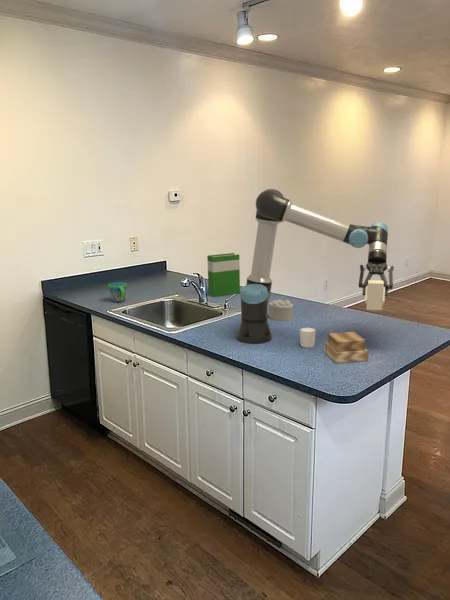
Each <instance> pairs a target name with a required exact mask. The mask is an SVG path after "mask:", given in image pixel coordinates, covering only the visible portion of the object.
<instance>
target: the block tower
mask: <svg viewBox="0 0 450 600" xmlns="http://www.w3.org/2000/svg"><path fill="white" fill-rule="evenodd" d="M323 350H324V353H325V354H326V355H327V356H328V357H329V358H330V359H331V360H332V361H333V362H334V363H335V364H340V363H351V362H352V363H355V362H365V361H366V362H367V361H369V350H368V349H367V348H366V340H365V338H363V337H362V336H361V335H359V334H358V333H357V332H355V331H344V332H329V333H328V334H327V341H325V342H324V349H323Z"/></svg>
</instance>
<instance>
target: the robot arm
mask: <svg viewBox="0 0 450 600" xmlns="http://www.w3.org/2000/svg"><path fill="white" fill-rule="evenodd" d="M255 199H256V200H255V209H256V211H255V212H256V213H255V220H256V221H257V230H256V236H255V244H254V250H253V251H254V252H253V258H252V264H251V271H250V274H249V275H248V276H247V278H246V284H245V285H244V286H242V288H240V295H239V296H240V308H241V309H240V317H241V318H240V319H241V321H240V324H239V328H238V330H237V340H238V341H240V342H242V343H248V344H262V343H267V342H269V341H271V340H272V330H271V328H270V325H269V321H268V319H269V303H270V302H269V301H270V299H271V295H272V291H271V290H272V284H273V279H272V278H271V277H270V275H271V269H272V264H273V263H272V262H273V256H274V249H275V243H276V236H277V230H278V225H279V224H280V223H284V222H288V223H290V224H293V225H296V226H298V227H301V228H304V229H307V230H310V231H312V232H315V233H317V234H320V235H323V236H326V237H328V238H331V239H333V240H334V239H335V240H337V241H339V242H342V243H346V244H348V245H350V246H351V247H352V248H356V249H361V248H364V247H365V246H366V245H368V250H367V251H368V255H367V263H366V265H365V264H364V265H363V264H360V265H359V270H360V273H359V279H358V288H360V289H362V296H364V304H367V292H368V280H372V277H373V275H378V276H379V277H380V280H382V281H384V287H383V300H382V305H385V300H386V299H385V297H388V295H389V290H393V288H394V281H393V280H394V279H393V278H394V277H393V272H394V268H395V267H394V265H390V266H389V265H388V264H387V260H388V259H387V255H388V254H387V253H388V239H389V237H388V236H389V231H388V230H389V229H388V226H387V224H385V223H384V222H380V221H378V222H374V223H371V225H370V226H365V225H357V224H352V223H350V224H349V223H346V222H343V221H341V220H338V219H335V218H333V217H329V216H328V215H325V214H322V213H319V212H316V211H314V210H312V209H311V210H310V209H308V208H306V207H302V206H300V205H297V204H295V203H292V200H291V199H289V198H285V196H284V194H282V192H280V191H279V190H277V189H275V188H268V189H267V188H266V189H265V190H263V191H262V192H261V193H259V194H258V196H257V197H256V198H255ZM366 269H367V271H368V274H367V276H366V278H365V279H364V275H365V273H364V272H365V271H366ZM386 270H387V272H388V281H387V278H386V276H385V272H386ZM363 280H364V282H363ZM388 283H389V284H388Z"/></svg>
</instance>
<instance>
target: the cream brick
mask: <svg viewBox="0 0 450 600" xmlns="http://www.w3.org/2000/svg"><path fill="white" fill-rule="evenodd" d="M367 286H368V292H367V303H366V311H367V310H369V311H371V310H372V311H383V304H382V300H383V287H384V281H382V279H380V280H378V279H370V280H368V285H367Z"/></svg>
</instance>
